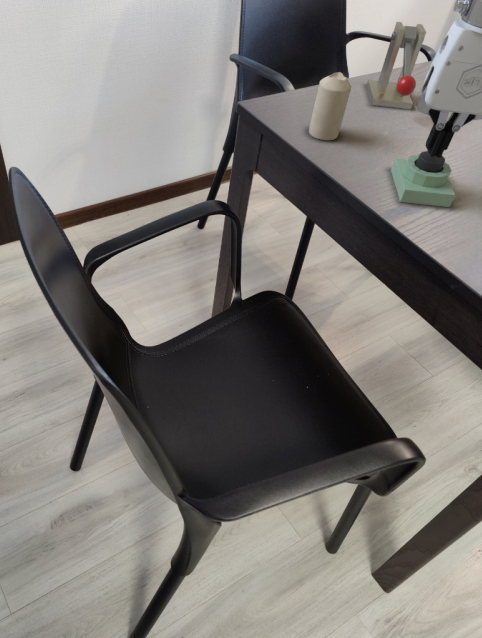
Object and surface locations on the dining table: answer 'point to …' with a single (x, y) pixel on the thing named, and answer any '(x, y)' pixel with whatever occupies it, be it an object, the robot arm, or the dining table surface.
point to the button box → (422, 183)
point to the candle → (330, 106)
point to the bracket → (382, 89)
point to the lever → (407, 62)
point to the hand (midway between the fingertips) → (433, 152)
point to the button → (430, 162)
